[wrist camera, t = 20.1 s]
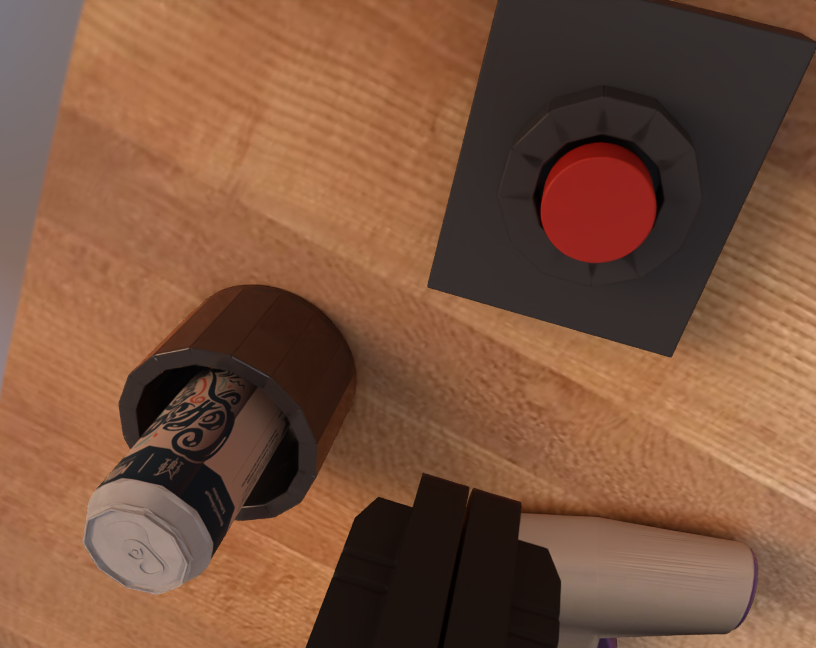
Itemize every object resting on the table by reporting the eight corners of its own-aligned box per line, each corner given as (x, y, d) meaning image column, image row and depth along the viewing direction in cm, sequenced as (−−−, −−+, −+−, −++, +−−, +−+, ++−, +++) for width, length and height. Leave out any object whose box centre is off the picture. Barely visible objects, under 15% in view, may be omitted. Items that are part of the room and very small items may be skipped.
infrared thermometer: (508, 679, 45) (485, 498, 37) (725, 702, 42) (749, 509, 34) (501, 756, 41) (474, 572, 34) (738, 787, 38) (768, 592, 30)
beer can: (273, 310, 34) (135, 481, 24) (332, 389, 36) (226, 582, 25) (200, 350, 36) (44, 524, 26) (259, 423, 38) (134, 615, 27)
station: (512, -39, 26) (500, -31, 22) (802, 33, 25) (835, 52, 22) (436, 265, 32) (417, 308, 29) (667, 331, 31) (675, 383, 28)
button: (562, 129, 25) (559, 143, 23) (669, 157, 24) (674, 174, 23) (530, 227, 26) (526, 246, 25) (630, 255, 26) (633, 276, 25)
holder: (156, 303, 36) (83, 368, 31) (318, 267, 33) (267, 332, 28) (229, 448, 40) (174, 528, 35) (381, 427, 37) (346, 511, 32)
